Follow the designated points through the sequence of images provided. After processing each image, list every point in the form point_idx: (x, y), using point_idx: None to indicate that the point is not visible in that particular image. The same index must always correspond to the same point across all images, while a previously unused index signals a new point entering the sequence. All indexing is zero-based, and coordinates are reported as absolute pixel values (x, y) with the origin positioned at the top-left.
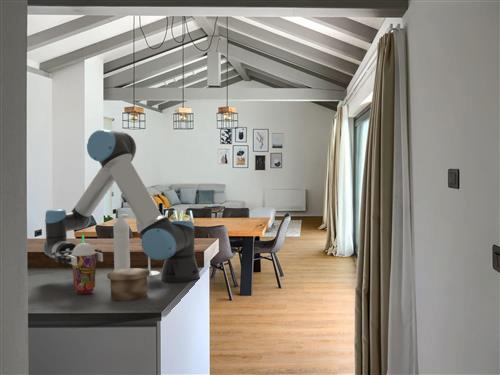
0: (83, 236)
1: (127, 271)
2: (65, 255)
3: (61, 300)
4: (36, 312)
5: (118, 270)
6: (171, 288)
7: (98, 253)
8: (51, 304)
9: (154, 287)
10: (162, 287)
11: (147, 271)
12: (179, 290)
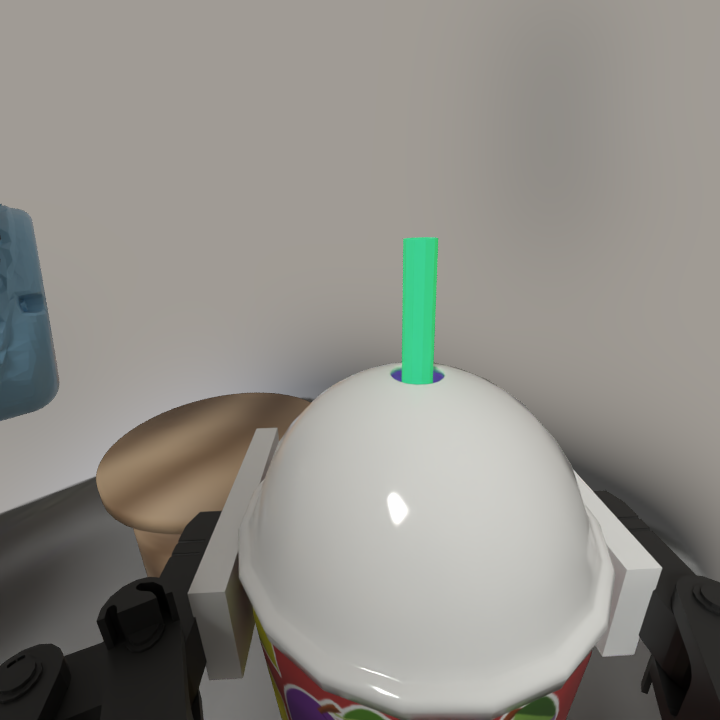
0: (415, 260)
1: (204, 457)
2: (707, 586)
3: (596, 708)
4: (676, 553)
5: (207, 500)
6: (40, 526)
7: (268, 458)
8: (644, 647)
9: (31, 593)
10: (24, 566)
11: (159, 419)
12: (72, 488)
